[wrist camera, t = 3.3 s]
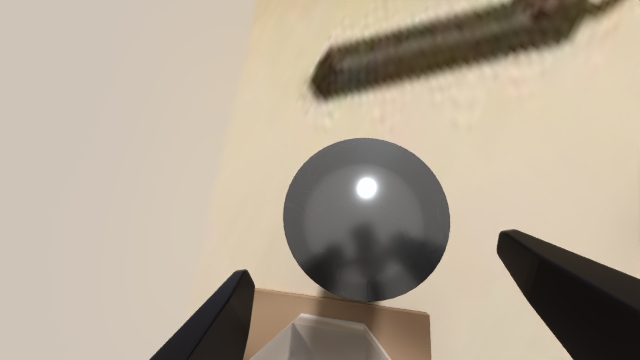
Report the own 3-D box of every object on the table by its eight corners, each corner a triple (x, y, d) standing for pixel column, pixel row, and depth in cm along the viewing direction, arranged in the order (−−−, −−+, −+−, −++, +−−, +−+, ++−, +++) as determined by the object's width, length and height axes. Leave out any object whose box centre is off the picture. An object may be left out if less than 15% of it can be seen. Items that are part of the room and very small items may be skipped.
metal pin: (398, 238, 16) (487, 203, 5) (362, 281, 16) (373, 347, 5) (356, 202, 18) (352, 112, 6) (321, 241, 17) (252, 216, 6)
